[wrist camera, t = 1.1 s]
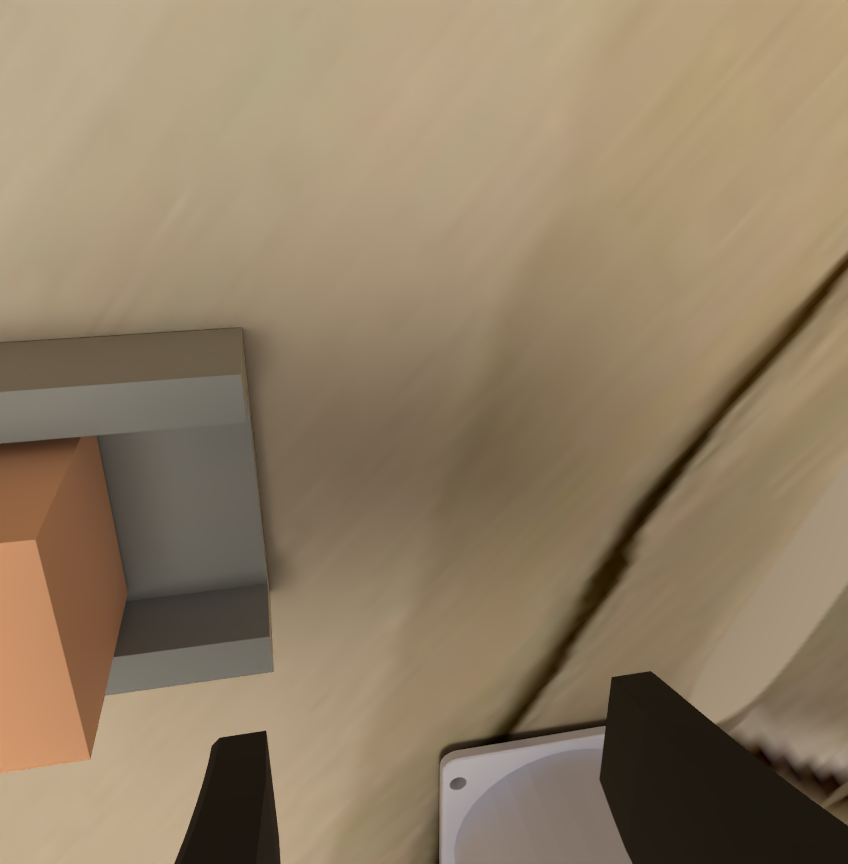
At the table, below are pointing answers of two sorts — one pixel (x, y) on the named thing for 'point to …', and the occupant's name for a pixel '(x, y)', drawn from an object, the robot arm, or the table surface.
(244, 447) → the trough
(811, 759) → the table surface
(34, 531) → the block
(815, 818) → the robot arm
